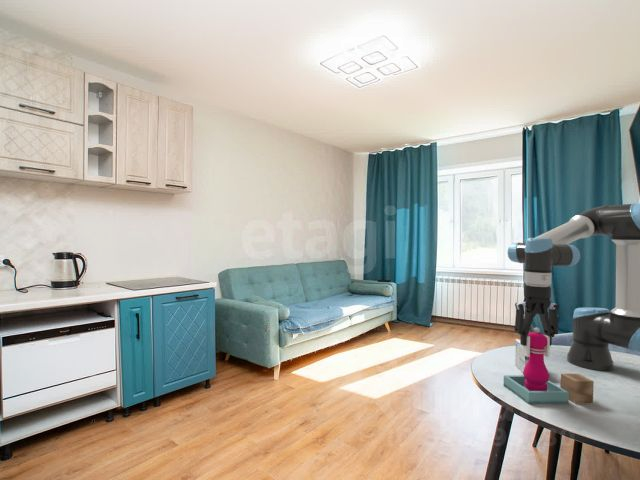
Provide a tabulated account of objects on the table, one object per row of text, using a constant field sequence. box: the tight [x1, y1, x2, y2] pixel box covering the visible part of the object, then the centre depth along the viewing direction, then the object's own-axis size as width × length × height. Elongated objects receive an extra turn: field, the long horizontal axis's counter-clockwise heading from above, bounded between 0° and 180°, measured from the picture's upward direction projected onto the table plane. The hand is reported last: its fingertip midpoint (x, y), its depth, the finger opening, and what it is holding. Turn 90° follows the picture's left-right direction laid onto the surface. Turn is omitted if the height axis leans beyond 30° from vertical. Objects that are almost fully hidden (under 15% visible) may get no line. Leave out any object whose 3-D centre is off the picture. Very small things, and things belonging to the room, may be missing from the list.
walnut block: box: [559, 373, 595, 405], centre depth 111 cm, size 6×6×7 cm
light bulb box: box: [514, 338, 529, 374], centre depth 134 cm, size 11×7×11 cm, turn 168°
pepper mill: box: [522, 327, 550, 391], centre depth 113 cm, size 7×7×20 cm
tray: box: [502, 374, 570, 405], centre depth 113 cm, size 13×13×4 cm
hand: (535, 355), depth 113 cm, fingers closed on pepper mill, 6 cm apart
